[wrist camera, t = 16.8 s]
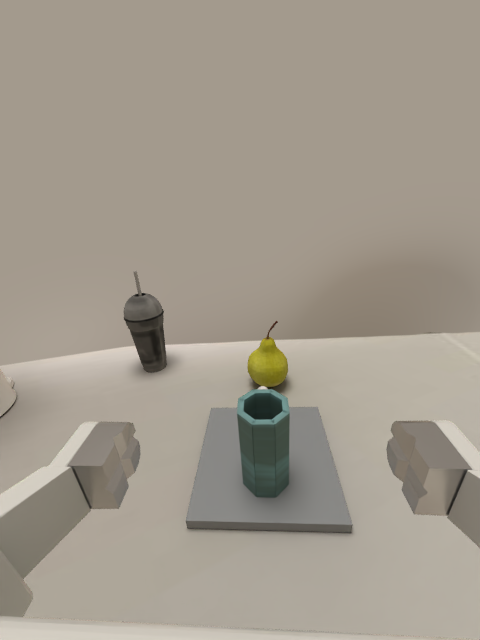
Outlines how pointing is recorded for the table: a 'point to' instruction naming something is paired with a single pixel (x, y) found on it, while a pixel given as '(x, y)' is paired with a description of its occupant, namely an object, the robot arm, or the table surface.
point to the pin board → (261, 512)
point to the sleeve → (264, 441)
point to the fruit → (268, 364)
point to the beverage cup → (146, 328)
